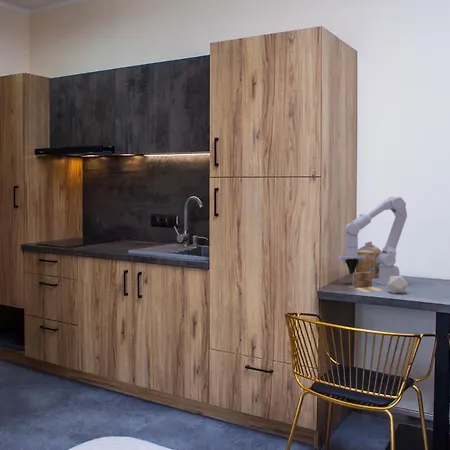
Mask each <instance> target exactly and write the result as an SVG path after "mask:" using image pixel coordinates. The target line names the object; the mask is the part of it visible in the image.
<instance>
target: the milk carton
mask: <svg viewBox="0 0 450 450" xmlns="http://www.w3.org/2000/svg"><path fill="white" fill-rule="evenodd" d="M381 252H382V250H381V249H380V248H379V247H377V246H376V245H375V244H373V242H372V240H371V241H368V242H365V243H364V245H363V246H361V247H360V248H358V255H366V258H365V259H357V260H359V262H358V264H357V266H356V268H355V273H359V272H372V280H373V279H375V280H376V279H379V265H380V262H379V261H378V256H379V254H380V253H381Z"/></svg>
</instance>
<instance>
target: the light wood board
mask: <svg viewBox="0 0 450 450" xmlns="http://www.w3.org/2000/svg"><path fill="white" fill-rule="evenodd" d="M347 288H350V289H354V290H357V291H360V292H364V293H370V292H372V293H373V292H385V291H388V289H384V288H381V287H378V286H373V285H372V287H362V288H354V287H353V285H349V286H347Z"/></svg>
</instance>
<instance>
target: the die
mask: <svg viewBox="0 0 450 450" xmlns="http://www.w3.org/2000/svg"><path fill="white" fill-rule="evenodd" d="M408 284H409V283H408V282H407V281H406V279H405V278H404V277H403V276H402V275H399V276H390V279H389V281H388V284H387V285H386V287H387V288H388V290H389V291H390V293H391V294H398V293H403V294H404V293H405V291H406V289H407V286H408Z"/></svg>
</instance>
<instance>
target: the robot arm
mask: <svg viewBox="0 0 450 450" xmlns="http://www.w3.org/2000/svg"><path fill="white" fill-rule="evenodd" d="M406 204H407V203H406V202H405V200H404V199H403V198H402V197H401V196H389V197H388V198H387V199H384V200H383V201H382V202H381V203H379V204H378V205H377V206H375V207H373V209H371V210H370V211H369V212H367V213H359V215H358V217H357V218H355V219H354V220H353V219H352V220H351V222H349V223H347V224H346V225H345V228H344V231H345V233H346V234H345V236H346V238H345V255H338V257H337V260H338V261H344V262H345V264H346V265H347V268H348V273H349V274H350V275H353V273H356V266H357V264H358V262H359V260H357V259H365V258H366V255H358V249H359V247H358V246H359V238H358V236H359V235H358V234H359V233H360V231H361V230H363V228H365V227H367V226H368V225H369V224H371V222H372V219H374V218H375V217H376V216H378V215H379V214H381V213H383V212H384V211H387V210H390V211H391V212H392V213H393V215H394V216H395V217H394V220H393V223H392V225H391V228H390V232H389V233H388V238H387V240H386V243H385V246H384V247H383V248H382V250H381V253H380V254H379V256H378V261H379V262H380V265H379V277H378V281H375V284H376V283H377V284H379V285H383V286H387V284H388V281H389V279H390V276H400V269H399V267H398V266H397V265H395V264H396V261H397V258H396V256H397V246H398V243H399V241H400V238H401V235H402V232H403V229H404V226H405V223H406V220H407V219H408V213H407V207H406Z"/></svg>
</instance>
